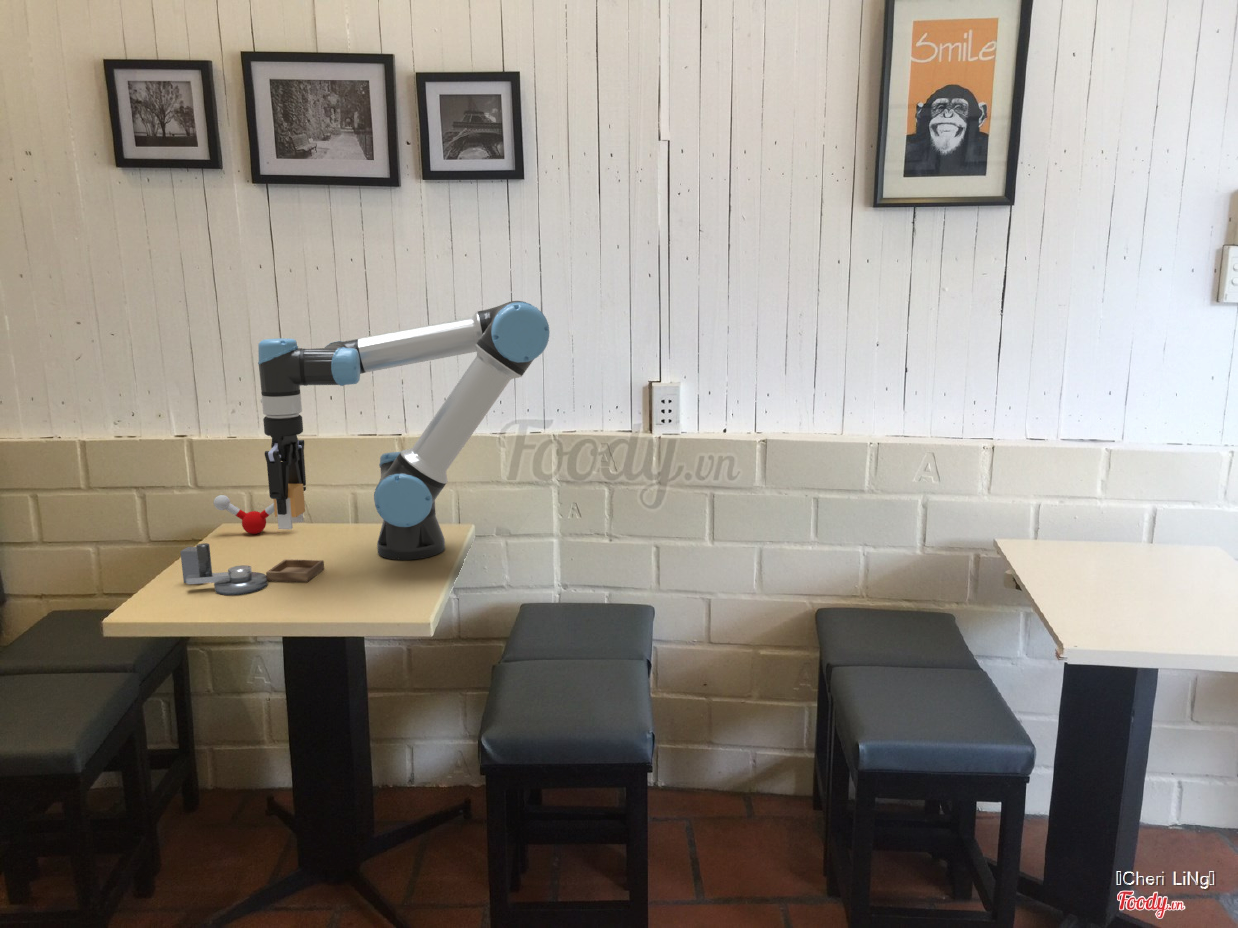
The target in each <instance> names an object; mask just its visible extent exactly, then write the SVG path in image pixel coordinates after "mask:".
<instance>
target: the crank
mask: <svg viewBox="0 0 1238 928" xmlns="http://www.w3.org/2000/svg"><path fill="white" fill-rule="evenodd" d="M195 547H196V548H197V557H198V567H199V574H194V575H188V577H187V578H186V582H187V584H186V585H200V584H199V583H203V584H207V583H211V584H213V583H212V582H226V581H229V582H230V583H234V584H238V583H245V582H249V581H251V580H252V572H253V571H252V566H250V565H246V564H245V565H235V566H232V567H229V568H228V569H227V571H221V572H213V565H212V557H211V549H210V547H211V546H210V543H205V542H204V543H198V544H197V545H196V546H195Z"/></svg>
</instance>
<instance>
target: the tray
mask: <svg viewBox="0 0 1238 928" xmlns="http://www.w3.org/2000/svg"><path fill="white" fill-rule="evenodd" d="M324 563H325V561H324V560H321V559H289V558H288V559H287V558H285V559H283V560H281V561H280V562H278V563H277V564H276V565H274V566H273V567H272V568H270V569H268V570H267V571H266V572H265V575H266V576H267V583H268V582H270V583H271V582H272V583H273V582H274V583H276V582H277V583H302V584H303V583H304V584H305V583H306V584H307V583H309V582H311V580H313V579H314V578H315V577H316V576H318V575H319V574H320V573H321V572H322V571H324V570H325V564H324Z"/></svg>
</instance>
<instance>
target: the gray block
mask: <svg viewBox="0 0 1238 928" xmlns="http://www.w3.org/2000/svg"><path fill="white" fill-rule="evenodd" d="M180 561H181V570H182V579H183V584H184V583H187V582H186V578H187V577H188V575H194V574H199V567H198V557H197V548H196V546H187V547H185V548H183V549H182V550H180ZM203 584H204V583H199V584H198V585H203Z"/></svg>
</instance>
